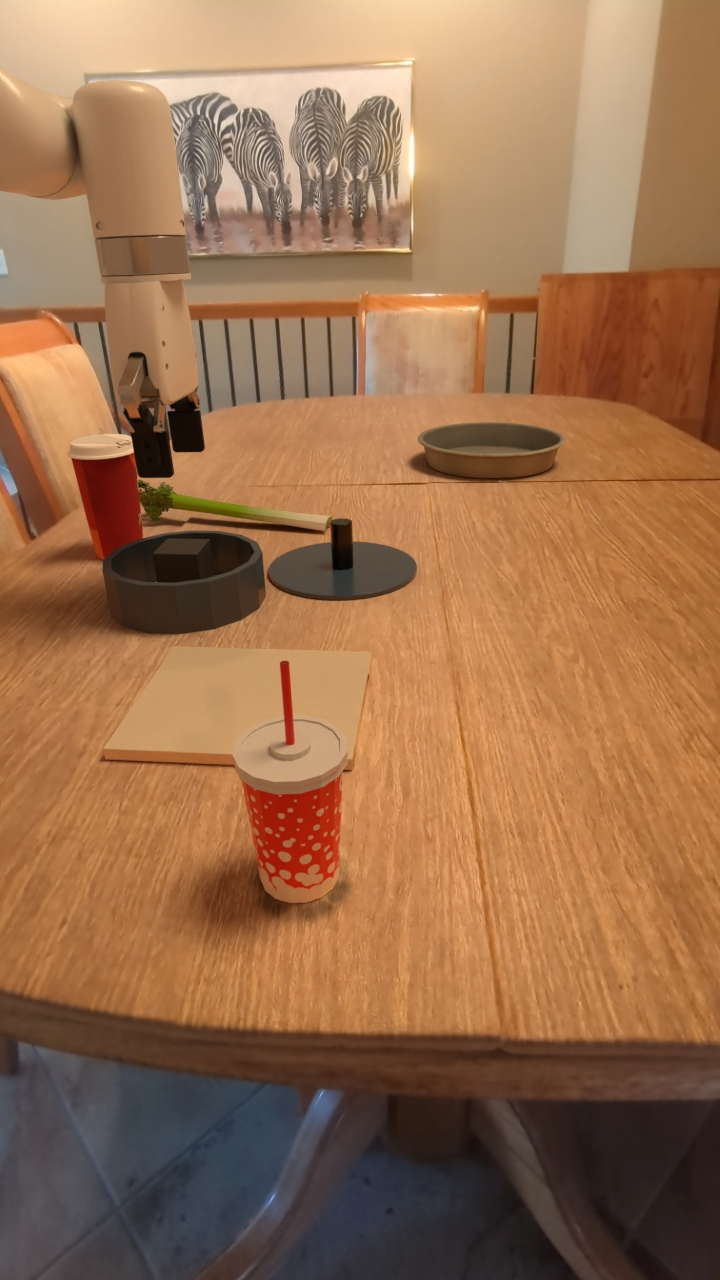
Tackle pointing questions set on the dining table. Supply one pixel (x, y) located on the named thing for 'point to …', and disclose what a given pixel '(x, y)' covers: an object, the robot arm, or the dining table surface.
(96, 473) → the paper cup
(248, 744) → the beverage cup
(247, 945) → the dining table surface
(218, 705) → the board
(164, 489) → the celery stalk
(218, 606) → the pot
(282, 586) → the lid
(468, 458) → the cake pan
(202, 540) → the block
